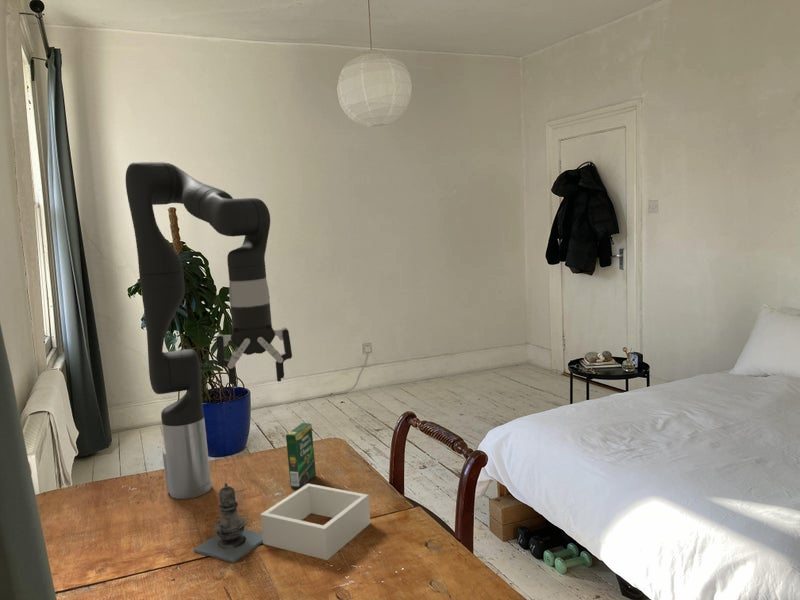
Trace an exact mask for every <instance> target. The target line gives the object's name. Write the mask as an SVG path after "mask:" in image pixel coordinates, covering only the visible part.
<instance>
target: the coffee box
mask: <svg viewBox="0 0 800 600" xmlns="http://www.w3.org/2000/svg"><path fill="white" fill-rule="evenodd" d="M312 427H313V426H312V423H307V422H302V423H300V424H299V425H298V426H296V427H295V428H294V429H292V430H290V431H289V432H287V433H286V435H285V441H286V451H287V462H288V472H289V473H288V474H289V484H290V488H291V489H292V488H294V489H298V490H299V489H300V488H302V487H303V486H305V485H306V484H308V483H309V481H311V480H312V479H314V477H316V475H317V471H316V461H315V460H316V458H315V450H314V449H315V448H314V439H313V429H312Z"/></svg>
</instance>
